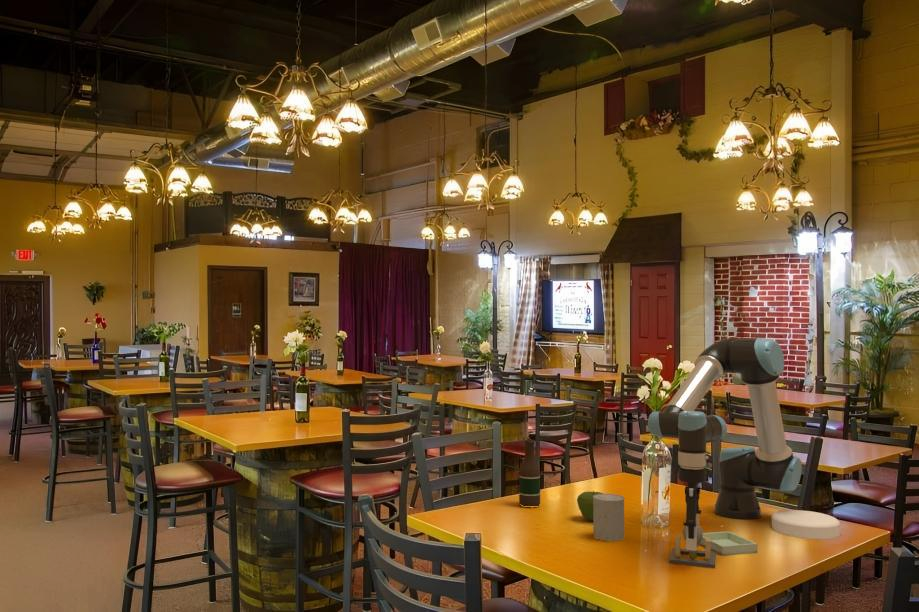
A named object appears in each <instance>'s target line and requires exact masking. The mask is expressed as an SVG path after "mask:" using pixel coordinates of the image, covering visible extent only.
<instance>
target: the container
mask: <svg viewBox="0 0 919 612" xmlns="http://www.w3.org/2000/svg"><path fill="white" fill-rule="evenodd" d="M771 529H772V530H773V531H774V532H777V533H779V534H781V535H784V536H789V537H793V538H799V539H805V540H806V539H807V540H833V539H837V538H840V536H841V521H839V519H837V518H836V517H835V516H832V515H829V514H826V513H822V512H816V511H810V510H799V509H785V510H783V509H782V510H778V511H775V512H774V513H773V514H772V515H771Z"/></svg>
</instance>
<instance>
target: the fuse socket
mask: <svg viewBox="0 0 919 612" xmlns="http://www.w3.org/2000/svg"><path fill="white" fill-rule="evenodd" d="M674 538H675V539H674V541H675V542H674V545H675V546H674V547H672V548H671V551H670V554H669V559H668V564H673V565H682V566H693V567H700V568H708V569H716V561H717V553H716V552H714V551H711V550H710V537H706V540H705V550H701V549H700V550H699V549H697V554H696V555H697V557H700V558H701V557H703V558H704V559H705V560H701V559H694V560H693V559H691V558H683V557H681V556H682V555H684V556H689V550H686V548H682V545H681V544H682V543H681V542H682V539H681V538H682V535H681V534H680V533H679V534H677V533H676V534H675V537H674Z"/></svg>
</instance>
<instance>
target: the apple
mask: <svg viewBox="0 0 919 612" xmlns="http://www.w3.org/2000/svg"><path fill="white" fill-rule="evenodd" d="M597 494H605V492H604V493H603V492H600V491H594V490H592V491H584V492H581V493H580V494H578V496H577V499H576V501H577V506H578V508H579V511H580V514H581V516H582V517H583V518H584V519H586V521H588V520H590V522H593V496H594V495H597Z"/></svg>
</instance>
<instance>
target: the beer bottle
mask: <svg viewBox="0 0 919 612" xmlns="http://www.w3.org/2000/svg"><path fill="white" fill-rule="evenodd" d="M535 443H536V441H535V439H533V438H532V439H531V438H529V439H525V441H524V444H525V446H524V448H525V449H524V458H523V459H524V460H523V462H522V464H521V466H520V469H519V475H518V477H519V479H518V480H519V482H518V483H519V484H518V485H519V486H518V490H519V491H518V493H519V494H518V499H519V500H518V501H519V504H521V505H523V506H539V504H540V505H541V470H540V467H539V465H538V463H537V462H536V454H535ZM539 507H540V506H539Z"/></svg>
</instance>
